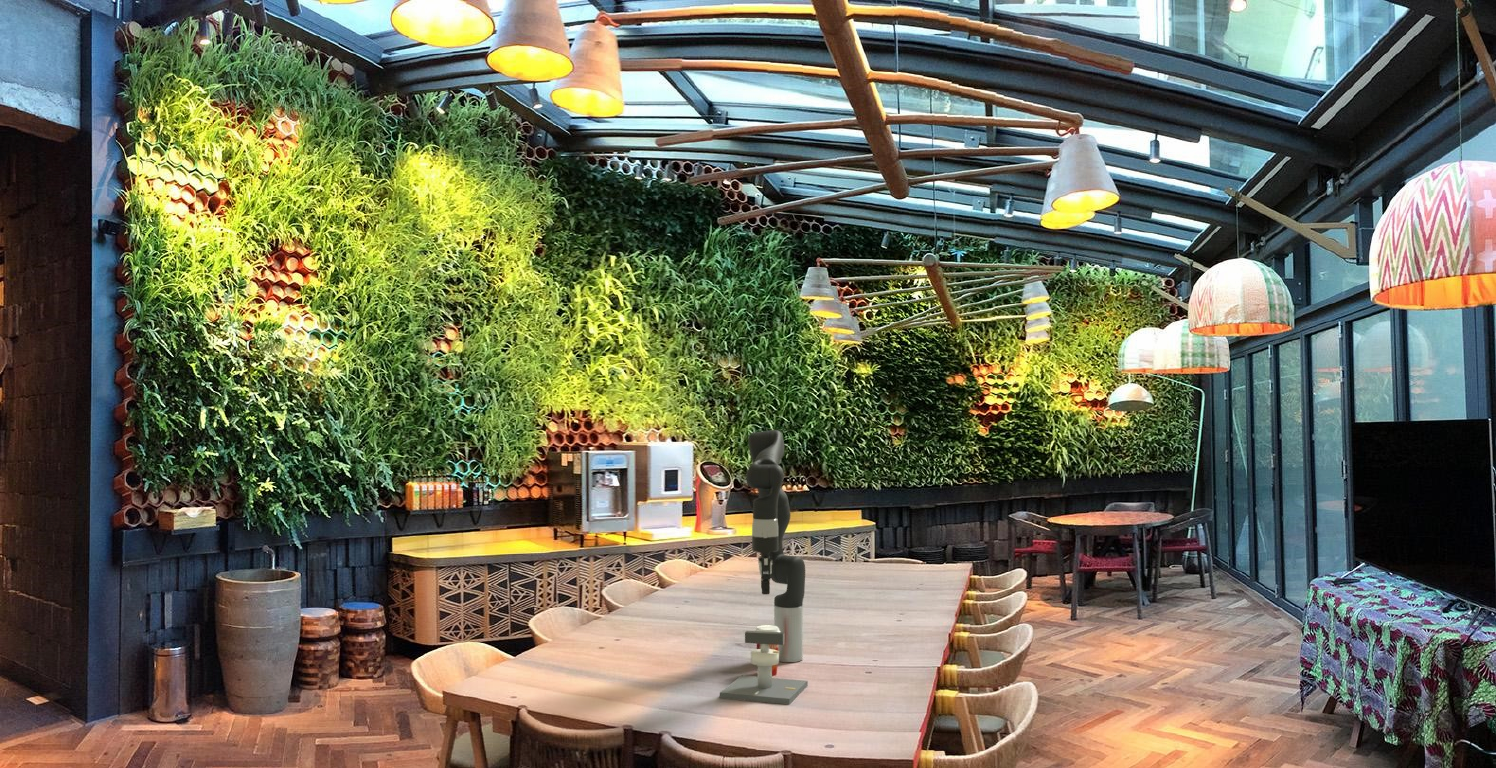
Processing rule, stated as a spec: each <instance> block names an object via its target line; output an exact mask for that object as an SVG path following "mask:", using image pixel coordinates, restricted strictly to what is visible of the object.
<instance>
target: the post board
mask: <svg viewBox="0 0 1496 768" xmlns="http://www.w3.org/2000/svg"><path fill="white" fill-rule="evenodd" d="M808 683H809V682H808V680H801V679H792V678H778V677H773V676H772V666H757V676H756V675H755V676H754V675H744V674H743V675H741V676H739V677H738V678H737V679H736V680H734V681H733V682H731V683H730V684H729V685H728V686H726V687H725V688H724V689H722V690H721V691H720V692H719V699H725V700H726V699H728V700H738V701H750V702H759V703H760V702H761V703H771V704H783V705H791V703H792V702H794V701H795V700H796V699H797V698H798V696H799V695H801V693H802V692H803V691H805V689H806V688H807V687H808Z"/></svg>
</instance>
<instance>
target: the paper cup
mask: <svg viewBox="0 0 1496 768" xmlns="http://www.w3.org/2000/svg"><path fill="white" fill-rule="evenodd" d="M755 631H765V632H781V631H780V630H779V628H778V627H777V626H774V625H772V624H771V625H769V624H767V625H758V626H757V627H756V630H755ZM778 646H779V645H774V644H769V649H773V650H777V651H778ZM756 649H761V644H756ZM777 673H778V664H777V665H773V666H772V677H773V676H776V675H777Z"/></svg>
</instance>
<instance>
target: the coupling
mask: <svg viewBox="0 0 1496 768" xmlns="http://www.w3.org/2000/svg"><path fill="white" fill-rule="evenodd" d="M744 643H745V644H756V645H757V644H761V649H757V648H756V649H753V650H751V651H750V664H751V665H753V666H757V667H758V666H773V665H777V666H778V664H780V661H779V651H777V650H773V649H769V644H774V645H783V644H784V643H785V633H784V632H765V631H756V630H746V631H745V632H744Z"/></svg>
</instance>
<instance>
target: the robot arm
mask: <svg viewBox="0 0 1496 768" xmlns="http://www.w3.org/2000/svg"><path fill="white" fill-rule="evenodd" d="M747 440H748V449H749V453H750V458H751V464H750V466H749V467H748V469H747V471H746V476H745V477H746V483H747V484H748V486H749V487H750V488H751V489H754V490H757V493H758V494H757V495H758V497H757V498H755V499H754V500H753V501H752V502H753V503H752V525H751V542H752V543H751V545H752V546H751V550H752V552H756V553H759V556H760V557H757V558H758V560H757V561H758V570H759V574H760V583H761V584H760V588H761V594H762V595H770V593H771V592H770V591H771V587H770V585H771V583H770V582H771V581H772V582H774V583H775V584H781V585H787V586H786V591H784V592H783V593H781V594H778V595H776V596H775V597H774V601H773V603H774V606H773V607H774V608H773V609H774V610H773V611H774V615H773V617H774V618H773V619H774V622H773V626H777V627H778V628H779V630H780V631H781V632H784V633H785V643H784V644H783V645H779V646H778V651H779V662H784V663H795V662H796V663H797V662H800V661H803V656H804V655H803V651H804V650H803V649H804V648H803V647H804V645H803V640H804V639H803V638H804V637H803V636H804V634H803V625H804V622H803V621H804V619H803V617H804V616H803V612H804V611H803V609H804V608H803V605H804V604H803V602H804V598H805V590H806V589H805V586H806V564H805V561H804V559H803V558H802V557H800V556H797V555H788V554H785V553H784V546H783V539H784V535H785V533H786V531H787V528H788V526H789V524H790V520H791V510H790V509H791V508H790V504H789V503H790V502H789V499H788V498H789V497H788V495H787V494H786V492H785V491H784V490H783V488H782V486H783V481H784V478H785V475H784V470H783V468H782V466H781V465H779V463H780V461H781V460H782V459H783V457H784V454H785V449H786V448H785V442H784V441H785V440H784V436H783V434H782V432H781V431H779V430H778V429H769V430H762V431H757V432H752V433H749V435H748V439H747Z"/></svg>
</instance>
